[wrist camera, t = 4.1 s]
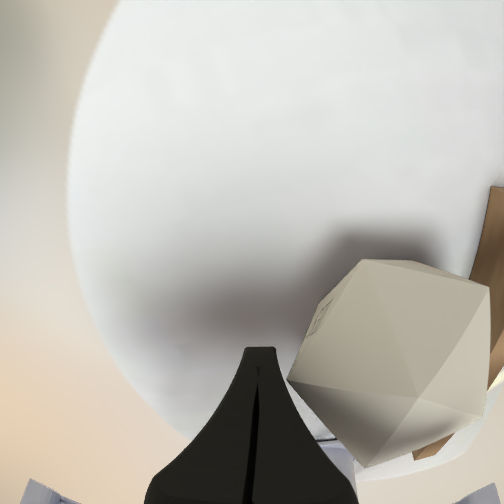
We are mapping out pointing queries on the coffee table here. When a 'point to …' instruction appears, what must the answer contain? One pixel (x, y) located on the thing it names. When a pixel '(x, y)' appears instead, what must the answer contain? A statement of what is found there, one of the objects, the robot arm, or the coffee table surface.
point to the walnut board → (500, 287)
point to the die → (396, 358)
